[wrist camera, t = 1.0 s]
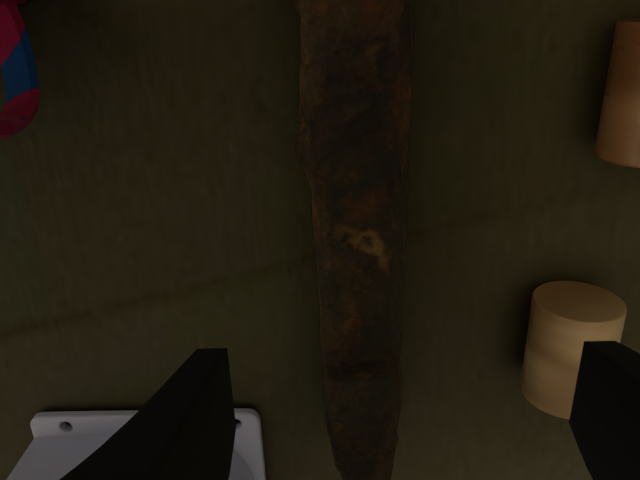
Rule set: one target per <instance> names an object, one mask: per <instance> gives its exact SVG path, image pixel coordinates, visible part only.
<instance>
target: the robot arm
mask: <svg viewBox="0 0 640 480" xmlns="http://www.w3.org/2000/svg"><path fill="white" fill-rule="evenodd" d="M235 419H238V420H239V421H240V422H235ZM65 422H68V423H70V424H71V425H68V424H66V423H65ZM569 423H570V426H571V429H572V431H573V434H574V437H575V439H576V442H577V445H578V447H579V450H580V452H581V454H582V457H583V459H584V462H585V464H586V466H587V469H588V471H589V472H590V474H591V476H592V478H593V480H640V354H639V353H637V352H635V351H634V350H632V349H630V348H628V347H626V346H624V345H622V344H620V343H618V342H617V341H584V344H583V350H582V355H581V360H580V366H579V371H578V376H577V382H576V387H575V392H574V398H573V403H572V408H571V414H570V419H569ZM30 426H31V430H32V433H33V436H34V439H33V441H32V442H31V444H30V445H29V447H28V448H27V450H26V451H25V453H24V454H23V456H22V457H21V459H20V460H19V461H18V463H17V464H16V466H15V467H14V469H13V470H12V472H11V473H10V475H9V476H8V478H7V479H6V480H266V473H265V462H264V451H263V440H262V429H261V418H260V415H259V413H258V412H257V411H255V410H253V409H249V408H234V405H233V396H232V387H231V379H230V370H229V361H228V353H227V348H213V349H197V350H196V351H195V352H194V353H193V354H192V355H191V356H190V357H189V358H188V359H187V360H186V361H185V362H184V363H183V364H182V365H181V366H180V368H179V369H178V370H177V371H176V372H175V373H174V374H173V375H172V376H171V377H170V378H169V379H168V381H167V382H166V383H165V384H164V385H163V386H162V387H161V388H160V389H159V390H158V391H157V392H156V393H155V394H154V395H153V396H152V397H151V398H150V399H149V400H148V401H147V402H146V403H145V404H144V405H143V407H142V408H141V409H140V410H117V411H60V412H39V413H37V414H36V415H35V416H34V418H33V419H32V421H31V423H30Z"/></svg>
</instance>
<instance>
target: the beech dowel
mask: <svg viewBox="0 0 640 480" xmlns="http://www.w3.org/2000/svg"><path fill="white" fill-rule="evenodd" d="M626 314H627V308H626V305H625V303H624V302H623V300H622V299H621V298H620V297H618V296H617V295H615V294H614V293H612V292H610V291H608V290H606V289H604V288H601V287H599V286H595V285H592V284H588V283H583V282H577V281H552V282H547V283H544V284H541V285H540V286H538V287H537V288H536V289H535V290H534V292H533V294H532V302H531V309H530V316H529V324H528V331H527V338H526V346H525V353H524V360H523V367H522V375H521V382H520V387H521V390H522V393H523V395H524V396H525V398H526V399H527V400H528V401H529V402H530V403H531V404H532V405H534V406H535V407H536V408H538V409H540V410H541V411H543V412H545V413H548V414H550V415H553V416H556V417H559V418H564V419H570V414H571V408H572V403H573V398H574V392H575V387H576V382H577V376H578V371H579V366H580V360H581V355H582V350H583V344H584V341H617V342H618V343H620V341H621V337H622V332H623V327H624V323H625V318H626Z"/></svg>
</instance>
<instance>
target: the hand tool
mask: <svg viewBox="0 0 640 480" xmlns="http://www.w3.org/2000/svg"><path fill="white" fill-rule="evenodd" d="M293 3H294V7H295V9H296V11H297V12H298V14H299V16H300V19H301V28H300V31H301V32H300V50H301V62H300V75H299V90H300V103H299V104H298V108H299V122H300V123H301V127H300V133H299V137H298V140H297V143H296V146H295V148H296V153H297V158H298V161H299V163H300V165H301V167H302V168H303V169H304V171H305V174H306V177H307V179H308V182H309V185H310V189H311V197H312V215H313V228H314V243H315V255H316V265H317V275H318V294H319V306H320V345H321V349H322V353H323V358H324V367H323V394H324V403H325V411H326V421H327V428H328V434H329V437H330V440H331V446H332V452H333V456H334V460H335V465H336V467H337V470H338V471H339V472H341V476H342V479H343V480H391V474H392V468H393V462H394V455H395V450H396V446H397V441H398V435H397V431H396V430H397V426H398V421H399V414H400V410H401V405H402V400H403V381H402V375H401V369H400V351H401V334H402V333H401V327H402V287H403V280H404V253H405V244H406V231H407V197H408V164H409V139H410V121H411V88H412V60H413V40H414V31H413V23H412V15H413V0H293Z"/></svg>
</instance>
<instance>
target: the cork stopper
mask: <svg viewBox="0 0 640 480" xmlns="http://www.w3.org/2000/svg"><path fill="white" fill-rule="evenodd" d="M595 155H596V156H597V157H598V158H600V159H602V160H604V161H607V162H610V163H613V164H617V165H621V166H626V167H631V168H638V169H640V18H639V19H624V20H619V21H617V23H616V26H615V32H614V38H613V44H612V50H611V56H610V62H609V67H608V73H607V79H606V85H605V91H604V97H603V103H602V109H601V115H600V121H599V127H598V133H597V139H596V145H595Z"/></svg>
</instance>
